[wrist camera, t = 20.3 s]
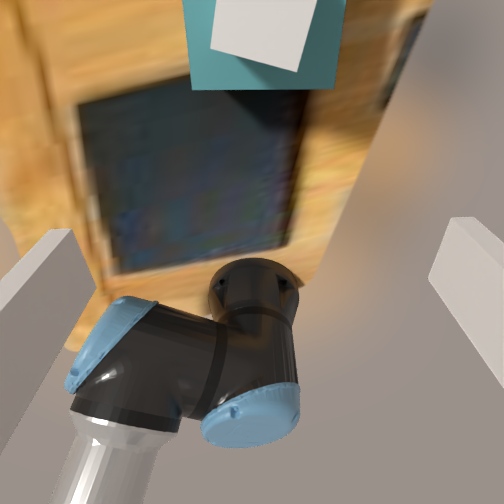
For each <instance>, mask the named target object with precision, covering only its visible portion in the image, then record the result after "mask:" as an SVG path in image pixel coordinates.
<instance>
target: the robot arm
mask: <svg viewBox="0 0 504 504" xmlns="http://www.w3.org/2000/svg"><path fill="white" fill-rule="evenodd" d="M428 280H429V281H430V283H431V284H432V286H433V287H434V289H435V290H436V291H437V293H438V294H439V296H440V297H441V299H442V300H443V302H444V303H445V304H446V306H447V307H448V309H449V310H450V312H451V313H452V315H453V316H454V317H455V319H456V320H457V322H458V323H459V325H460V326H461V328H462V329H463V330H464V332H465V333H466V335H467V336H468V338H469V339H470V341H471V342H472V343H473V345H474V346H475V348H476V349H477V351H478V352H479V353H480V355H481V357H482V358H483V359H484V361H485V362H486V363H487V365H488V367H489V368H490V370H491V371H492V372H493V374H494V375H495V377H496V378H497V380H498V381H499V382H500V384H501V385H502V386H503V388H504V243H503V242H502V241H501V240H500V239H498V238H497V237H496V236H495V235H494V234H493V233H492V232H490V231H489V230H488V229H487V228H486V227H485V226H483V225H482V224H481V223H480V222H479V221H478V220H477V219H475V218H474V217H458V218H451V220H450V222H449V225H448V227H447V230H446V232H445V235H444V238H443V240H442V243H441V245H440V248H439V251H438V253H437V256H436V259H435V261H434V264H433V266H432V269H431V271H430V274H429V277H428ZM96 288H97V287H96V285H95V282H94V280H93V278H92V275H91V273H90V271H89V268H88V266H87V264H86V261H85V259H84V256H83V254H82V252H81V249H80V247H79V245H78V242H77V240H76V238H75V235H74V233H73V231H72V229H50V230H49V231H48V232H47V233H46V234H45V235H44V236H43V237H42V238H41V239H40V240H39V241H38V242H37V243H36V244H35V245H34V246H33V247H32V248H31V249H30V250H29V251H28V252H27V254H26V255H25V256H24V257H23V258H22V259H21V260H20V261H19V262H18V263H17V264H16V265H15V266H14V267H13V268H12V269H11V270H10V271H9V272H8V273H7V274H6V275H5V276H4V277H3V279H1V281H0V455H1V453H2V451H3V449H4V448H5V446H6V444H7V442H8V441H9V439H10V437H11V435H12V434H13V432H14V430H15V428H16V427H17V425H18V423H19V422H20V420H21V418H22V416H23V415H24V412H25V411H26V409H27V408H28V406H29V404H30V402H31V401H32V399H33V397H34V395H35V394H36V392H37V390H38V388H39V387H40V385H41V383H42V382H43V380H44V378H45V376H46V375H47V373H48V371H49V369H50V368H51V366H52V364H53V362H54V361H55V359H56V357H57V356H58V354H59V352H60V350H61V349H62V347H63V345H64V343H65V342H66V340H67V338H68V336H69V335H70V333H71V331H72V330H73V328H74V326H75V324H76V323H77V321H78V319H79V317H80V316H81V314H82V312H83V310H84V309H85V307H86V305H87V303H88V302H89V300H90V298H91V297H92V295H93V293H94V291H95V290H96ZM208 301H209V306H210V310H211V313H212V317H213V320H210V319H207V318H203V317H200V316H197V315H194V314H191V313H188V312H184V311H181V310H178V309H175V308H172V307H168V306H165V305H162V304H159V302H158V301H153V302H152V301H148V300H144V299H141V298H137V297H133V296H123V297H120V298H118V299H116V300H115V301H114V302H112V303H111V304H110V306H109V307H108V308H107V309H106V311H105V312H104V313H103V315H102V316H101V317H100V319H99V320H98V322H97V324H96V325H95V327H94V328H93V330H92V331H91V333H90V335H89V336H88V338H87V340H86V341H85V343H84V345H83V346H82V348H81V350H80V352H79V354H78V356H77V357H76V360H75V361H74V365H73V366H72V368H71V370H70V372H69V374H68V376H67V378H66V380H65V384H64V387H65V389H66V390H67V391H68V392H69V393H70V394H75V393H76V396H75V399H74V401H73V403H72V406H71V408H70V410H69V415H70V417H71V419H72V422H73V424H74V426H75V428H76V436H75V439H74V441H73V444H72V446H71V449H70V451H69V454H68V456H67V459H66V461H65V463H64V466H63V468H62V471H61V474H60V476H59V478H58V481H57V483H56V486H55V488H54V491H53V493H52V496H51V499H50V501H49V503H48V504H143V500H144V497H145V494H146V490H147V487H148V483H149V480H150V476H151V473H152V470H153V466H154V462H155V459H156V456H157V452H158V450H159V449H160V448H161V446H163V445H164V444H165V443H167V442H168V441H170V440H171V439H173V438H174V437H176V436H177V433H178V429H179V425H180V421H181V419H182V417H187V418H191V419H196V420H200V421H202V422H201V427H200V428H201V431H202V435H203V437H204V439H205V440H206V441H207V442H210V443H211V444H212V445H215V446H219V447H224V448H248V447H255V446H260V445H264V444H268V443H271V442H274V441H276V440H279V439H281V438H283V437H284V436H286V435H287V434H289V433H290V432H291V431H292V430H293V429H294V428H295V427H296V425H297V423H298V421H299V417H300V387H299V385H298V377H297V368H296V360H295V351H294V343H293V335H292V325H293V321H294V317H295V314H296V311H297V307H298V303H299V292H298V285H297V282H296V279H295V278H294V276H293V275H292V273H291V272H290V271H289V270H288V269H286V268H285V267H284V266H282V265H280V264H278V263H276V262H274V261H271V260H267V259H262V258H245V259H240V260H236V261H233V262H231V263H228V264H227V265H225V266H223V267H222V268H221V269H219V270H218V271H217V272H216V273H215V275H214V276H213V278H212V280H211V283H210V287H209V294H208Z"/></svg>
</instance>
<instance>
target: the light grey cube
mask: <svg viewBox="0 0 504 504" xmlns="http://www.w3.org/2000/svg"><path fill="white" fill-rule="evenodd" d="M316 2H317V0H216V7H215V15H214V23H213V30H212V38H211V46H210V49H213V50H217V51H221V52H224V53H228V54H232V55H235V56H239V57H243V58H246V59H250V60H254V61H257V62H261V63H265V64H268V65H272V66H276V67H279V68H283V69H287V70H290V71H294V72H297V69H298V66H299V62H300V59H301V55H302V52H303V48H304V45H305V41H306V38H307V34H308V31H309V27H310V23H311V20H312V16H313V13H314V9H315V6H316Z"/></svg>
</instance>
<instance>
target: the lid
mask: <svg viewBox="0 0 504 504" xmlns="http://www.w3.org/2000/svg"><path fill="white" fill-rule="evenodd" d="M182 2H183V11H184V20H185V29H186V38H187V47H188V56H189V65H190V74H191V82H192V90H275V89H334V86H335V79H336V71H337V64H338V57H339V50H340V42H341V35H342V28H343V21H344V13H345V6H346V0H317V2H316V6H315V9H314V13H313V16H312V20H311V23H310V27H309V31H308V34H307V38H306V41H305V45H304V48H303V52H302V55H301V59H300V62H299V66H298V69H297V72H294V71H290V70H287V69H283V68H279V67H276V66H272V65H268V64H265V63H261V62H257V61H254V60H250V59H246V58H243V57H239V56H235V55H232V54H228V53H224V52H221V51H217V50H213V49H210V46H211V38H212V30H213V23H214V15H215V7H216V0H182Z"/></svg>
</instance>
